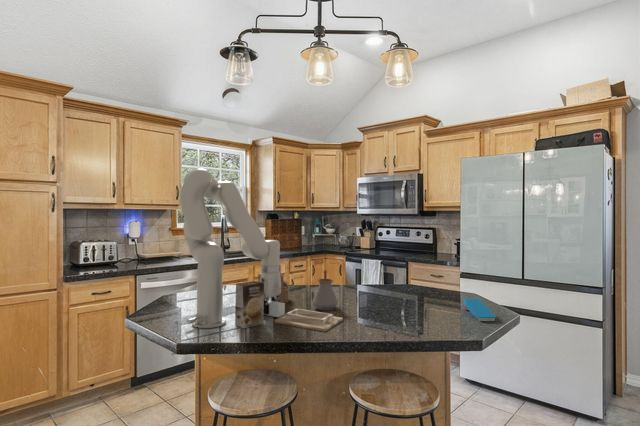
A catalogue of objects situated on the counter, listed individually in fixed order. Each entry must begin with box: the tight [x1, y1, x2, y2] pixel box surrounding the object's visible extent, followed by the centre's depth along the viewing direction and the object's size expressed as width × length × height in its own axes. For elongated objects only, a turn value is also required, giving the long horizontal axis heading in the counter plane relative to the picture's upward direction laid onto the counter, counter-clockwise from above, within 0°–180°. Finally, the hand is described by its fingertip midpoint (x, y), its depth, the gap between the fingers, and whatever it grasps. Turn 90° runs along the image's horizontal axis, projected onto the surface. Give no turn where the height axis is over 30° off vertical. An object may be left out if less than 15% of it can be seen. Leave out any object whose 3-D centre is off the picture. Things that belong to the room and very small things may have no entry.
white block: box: [263, 299, 286, 318], centre depth 159 cm, size 4×13×5 cm, turn 59°
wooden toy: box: [257, 260, 290, 304], centre depth 183 cm, size 16×7×25 cm, turn 87°
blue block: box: [463, 298, 497, 319], centre depth 161 cm, size 7×7×18 cm
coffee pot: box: [312, 269, 339, 312], centre depth 175 cm, size 21×12×15 cm, turn 179°
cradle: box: [274, 307, 343, 332], centre depth 150 cm, size 16×22×3 cm
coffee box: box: [234, 280, 264, 329], centre depth 146 cm, size 9×6×16 cm
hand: (269, 311), depth 159 cm, fingers closed on white block, 4 cm apart
